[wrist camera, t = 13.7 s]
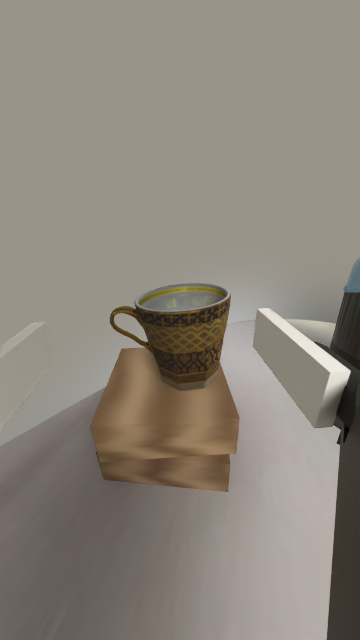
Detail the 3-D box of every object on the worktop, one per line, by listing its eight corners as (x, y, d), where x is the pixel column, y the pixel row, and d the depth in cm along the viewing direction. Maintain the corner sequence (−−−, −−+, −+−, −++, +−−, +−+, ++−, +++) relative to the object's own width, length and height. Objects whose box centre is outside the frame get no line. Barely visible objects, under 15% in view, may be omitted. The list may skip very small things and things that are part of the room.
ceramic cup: (219, 347, 31) (217, 279, 28) (243, 396, 22) (245, 304, 18) (129, 358, 31) (115, 290, 27) (116, 412, 22) (91, 321, 18)
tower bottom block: (220, 399, 36) (221, 375, 34) (227, 494, 24) (229, 464, 22) (138, 395, 38) (135, 371, 36) (104, 481, 25) (96, 452, 23)
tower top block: (212, 370, 35) (213, 344, 33) (236, 453, 22) (239, 417, 20) (126, 375, 35) (121, 348, 33) (100, 462, 22) (90, 426, 20)
